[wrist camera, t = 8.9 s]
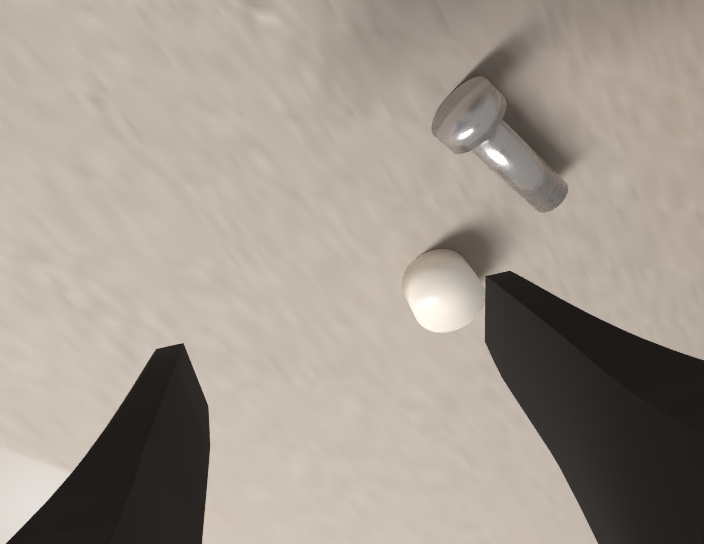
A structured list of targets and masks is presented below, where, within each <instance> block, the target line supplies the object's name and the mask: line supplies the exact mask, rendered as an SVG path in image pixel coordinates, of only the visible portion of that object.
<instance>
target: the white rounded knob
mask: <svg viewBox="0 0 704 544" xmlns="http://www.w3.org/2000/svg"><path fill="white" fill-rule="evenodd" d="M402 289H403V292H404V295H405V297H406V299H407V301H408V303H409V305H410V307H411V309H412V311H413V313H414V315H415V317H416V319H417V321H418V322H419V324H420V325H421V326H423V327H424V328H426V329H427V330H430V331H433V332H450V331H454V330H457V329H459V328H462V327H463V326H465V325H467V324H468V323H470V322H471V321H472V320H473V319H474V318H475V317H476V316H477V315H478V313H479V312H480V310H481V309H482V306H483V304H484V301H485V289H484V286H483V284H482V282H481V281H480V279H479V278H478V277H477V275H476V274H475V273H474V271H473V270H472V268H471V267H470V266H469V264H468V263H467V262H466V260H465V259H464V258H463V257H462V256H461V255H460V254H459V253H457V252H455V251H453V250H449V249H436V250H431V251H428V252H426V253H424V254H422V255H420V256H419V257H417V258H416V259H415V260H414V261H413V262H412V263H411V264H410V265H409V266H408V268H407V269H406V271H405V273H404V276H403V280H402Z"/></svg>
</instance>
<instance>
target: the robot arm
mask: <svg viewBox="0 0 704 544" xmlns="http://www.w3.org/2000/svg"><path fill="white" fill-rule="evenodd" d="M485 343H486V345H487V347H488V349H489V351H490V354H491V356H492V358H493V360H494V362H495V364H496V366H497V368H498V370H499V372H500V374H501V376H502V378H503V380H504V381H505V383H506V384H507V386H508V387H509V389H510V391H511V392H512V394H513V395H514V397H515V398H516V400H517V401H518V403H519V404H520V406H521V407H522V409H523V411H524V412H525V414H526V415H527V417H528V418H529V420H530V421H531V423H532V424H533V426H534V427H535V429H536V430H537V432H538V433H539V435H540V436H541V438H542V439H543V441H544V442H545V444H546V445H547V447H548V449H549V450H550V452H551V453H552V455H553V457H554V458H555V460H556V462H557V463H558V465H559V467H560V469H561V470H562V472H563V474H564V476H565V478H566V480H567V482H568V484H569V486H570V488H571V490H572V492H573V494H574V496H575V498H576V499H577V501H578V503H579V505H580V507H581V509H582V511H583V513H584V515H585V517H586V520H587V522H588V524H589V526H590V528H591V530H592V532H593V534H594V536H595V538H596V540H597V542H598V544H704V360H701V359H698V358H694V357H691V356H688V355H685V354H683V353H680V352H677V351H674V350H671V349H669V348H666V347H663V346H661V345H658V344H656V343H653V342H650V341H648V340H645V339H643V338H640V337H638V336H636V335H633V334H631V333H629V332H626V331H624V330H622V329H620V328H618V327H615V326H613V325H611V324H609V323H607V322H605V321H603V320H601V319H599V318H597V317H595V316H593V315H591V314H589V313H587V312H585V311H583V310H581V309H579V308H577V307H575V306H573V305H571V304H569V303H568V302H566V301H564V300H562V299H560V298H558V297H557V296H555V295H553V294H551V293H549V292H548V291H546V290H544V289H542V288H541V287H539V286H537V285H535V284H533V283H532V282H530V281H528V280H526V279H524V278H523V277H521V276H519V275H517V274H515V273H513V272H511V271H507V272H502V273H498V274H493V275H489V276H486V288H485ZM209 453H210V432H209V412H208V404H207V402H206V399H205V397H204V394H203V392H202V389H201V387H200V384H199V382H198V379H197V377H196V374H195V371H194V369H193V366H192V364H191V361H190V359H189V356H188V354H187V351H186V349H185V346H184V344H183V343H182V344H177V345H173V346H168V347H164V348H159V349H156V351H155V352H154V353H153V355H152V356H151V358H150V360H149V361H148V363H147V364H146V366H145V368H144V369H143V371H142V373H141V374H140V376H139V377H138V379H137V381H136V382H135V384H134V385H133V387H132V389H131V390H130V392H129V393H128V395H127V397H126V398H125V400H124V401H123V403H122V404H121V406H120V407H119V409H118V410H117V412H116V413H115V415H114V416H113V418H112V419H111V421H110V422H109V424H108V425H107V427H106V428H105V430H104V431H103V432H102V434H101V435H100V436H99V438H98V439H97V441H96V442H95V443H94V445H93V446H92V447H91V449H90V450H89V451H88V453H87V454H86V456H85V457H84V458H83V460H82V461H81V462H80V463H79V465H78V466H77V467H76V468H75V470H74V471H73V472H72V473H71V474H70V476H69V477H68V478H67V479H66V480H65V481H64V483H63V484H62V485H61V486H60V487H59V489H57V491H56V492H55V493H54V494H53V495H52V496H51V498H50V499H49V500H48V501H47V502H46V503H45V504H44V505H43V506H42V507H41V508H40V509H39V510H38V511H37V512H36V514H34V515H33V516H32V517H31V519H30V520H29V521H28V522H27V523H26V524H25V525H24V526H23V527H22V528H21V529H20V530H19V531H18V532H17V533H16V534H15V535H14V536H13V537H12V538H11V539H10V540H9V541H8V542H7V543H6V544H202V535H203V523H204V512H205V501H206V490H207V478H208V466H209Z"/></svg>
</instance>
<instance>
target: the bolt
mask: <svg viewBox="0 0 704 544" xmlns="http://www.w3.org/2000/svg"><path fill="white" fill-rule="evenodd" d="M506 107H507V102H506V99H505V97H504V96H503V95H502V94H501V93H500V92H499V91H498V90H497V89H496V88H495V87H494V86H493V85H492V84H491V83H490V82H489V81H488V80H487V79H486V78H485V77H481V76H479V77H474V78H472V79H470V80H468V81H466V82H464V83H463V84H461V85H460V86H459V87H457V88H456V89H455V90H454V91H453V92H452V93H451V94H450V95H449V96H448V97H447V98H446V99H445V101H444V102H443V103H442V105H441V106H440V108H439V109H438V111H437V113H436V115H435V117H434V119H433V123H432V133H433V135H434V136H435V137H436V138H438V139H439V140H440V141H441V142H442V143H443V144H444V145H445V146H447V147H448V148H449V149H450V150H451V151H452V152H454V153H456V154H462V153H466V152H469V151H472V152H473V153H475V154H476V155H477V156H478V157H479V158H480V159H481V160H482V161H483V162H484V163H485V164H487V165H488V166H489V167H490V168H491V169H492V170H493V171H494V172H495V173H496V174H497V175H498V176H500V177H501V178H502V179H503V180H504V181H505V182H506V183H507V184H508V185H509V186H510V187H512V188H513V189H514V190H515V191H516V192H517V193H518V194H519V195H520V196H521V197H522V198H523V199H525V200H526V201H527V202H528V203H529V204H530V205H531V206H532V207H533V208H534V209H535V210H537V211H538V212H548V211H551V210H553V209H554V208H556V207H557V206H559V205H560V204H561V203H562V201H563V200H564V199H565V197H566V195H567V192H568V185H567V183H566V182H565V181H564V180H563V179H562V178H561V177H560V176H559V175H558V174H557V173H556V172H555V171H554V170H553V169H552V168H551V167H550V166H549V165H548V164H547V163H546V162H545V161H544V160H543V159H542V158H541V157H540V156H539V155H538V154H537V153H536V152H535V151H534V150H533V149H532V148H531V147H530V146H529V145H528V144H527V143H526V142H525V141H524V140H523V139H522V138H521V137H520V136H519V135H518V134H517V133H516V132H515V131H514V130H513V129H512V128H511V127H510V126H509V125H508V124H507V123H506V122H505V121H504V120H503V117H504V114H505V111H506Z"/></svg>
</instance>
